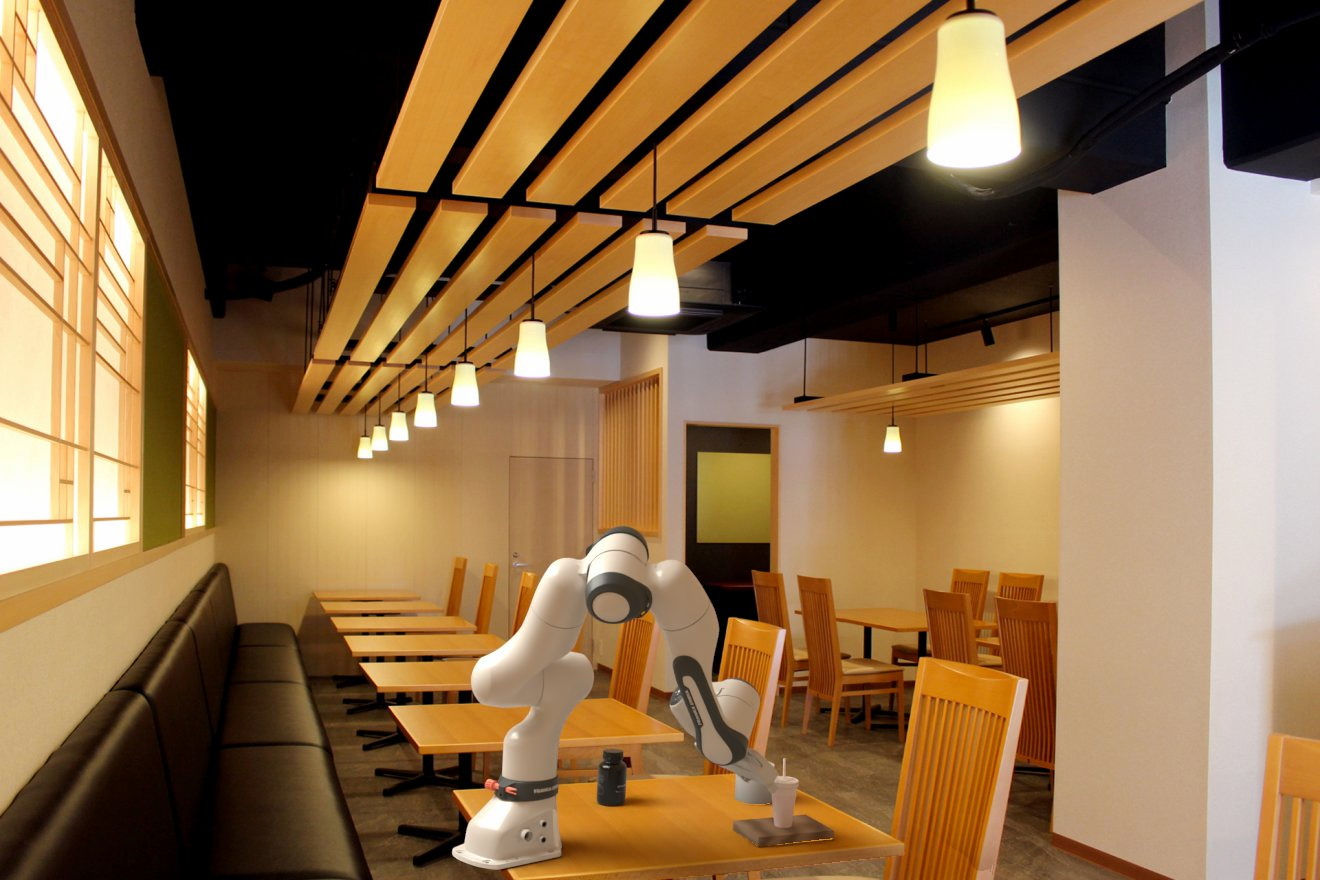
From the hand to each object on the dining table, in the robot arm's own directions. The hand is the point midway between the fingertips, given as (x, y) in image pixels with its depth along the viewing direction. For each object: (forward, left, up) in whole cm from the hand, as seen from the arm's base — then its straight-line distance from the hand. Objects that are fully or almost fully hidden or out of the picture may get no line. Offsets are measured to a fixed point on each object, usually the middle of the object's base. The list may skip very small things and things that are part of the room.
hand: (760, 785), depth 225 cm
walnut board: (+5, -3, -11) cm, 12 cm away
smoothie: (+5, -3, -9) cm, 11 cm away
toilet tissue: (+24, +17, -11) cm, 31 cm away
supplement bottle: (-4, +39, -11) cm, 41 cm away
